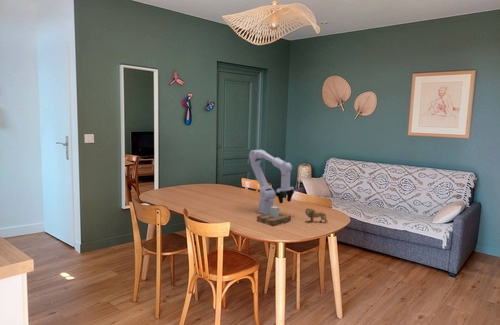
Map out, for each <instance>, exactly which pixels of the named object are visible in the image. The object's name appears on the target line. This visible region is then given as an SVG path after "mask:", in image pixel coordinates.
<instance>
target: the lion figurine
mask: <svg viewBox="0 0 500 325" xmlns="http://www.w3.org/2000/svg"><path fill="white" fill-rule="evenodd" d="M304 213H305V215H306V216H307V217H308V218H310V220H309V222H310V223H311V222H313V223H314V218H315V219H316V218H320V220H319V222H322V221H324V222H323V223H324V224H327V222H329V221H328V219H327V215H326V213H325V212H323V211H316V210H314V209H313V208H312V207H311V208H310V207H307V208H305V212H304Z"/></svg>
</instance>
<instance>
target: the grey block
mask: <svg viewBox="0 0 500 325" xmlns="http://www.w3.org/2000/svg"><path fill="white" fill-rule="evenodd" d="M279 214H280V207H279V206H275V205H273V207H270V217H273V218H276V217H279Z"/></svg>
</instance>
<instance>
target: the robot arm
mask: <svg viewBox="0 0 500 325" xmlns="http://www.w3.org/2000/svg"><path fill="white" fill-rule="evenodd" d="M248 158H249V160H250V166H251V168H252V171H253V173H254V176H255V177H256V180H257V182H258V185H259V187H260V190H259V194H260V200H259V202H258V211H257V213H259V214H262V215H265V214H269V213H270V207H273V206H274V199H275V197H276V196H277V198H278V201H279V202H278V203H279V204H283V202H284V197H285V193H284V192H286V201H287V202H289V203H291V200H292V198H293V196H294V193H295V190H294V189H295V187H294V186H291V171H292V169H293V164H291V162H290V161H289V162H286V161H285V160H283V159H281V158H280V157H274V156H272V155H271V154H269V153H268V152H267V151H266V150H263V149H261V148H260V149H252V150H250V151H249V153H248ZM263 159H264V160H267V161H268V162H271V163H272V165H273V167H276V169H277V168H278V169H279V171H280V175H281V176H280V177H281V178H280V187H279V188H277V189H276V191H275V189H273V187H272V186H271V185H270V184H269V182H268V181H267V178H266V176H265V174H264V172H263V170H262V167H261V165H260V164H261V162H262V161H263Z"/></svg>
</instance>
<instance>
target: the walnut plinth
mask: <svg viewBox="0 0 500 325" xmlns="http://www.w3.org/2000/svg"><path fill="white" fill-rule="evenodd" d="M256 221H257V222H259V221H260V222H259V223H262V222H263V224H265V223H266V225H268V224H269V225H268V226H271V225H272V227H276V226H279V225H278V224H280V225H283V224H285V223H286V222H287V223H289V221H291V222H292V216H289V215H286V214H283V213H279V217H276V218H273V217H270V213H269V214H261V215H257V216H256ZM282 223H283V224H282ZM287 223H286V224H287ZM275 225H276V226H275Z"/></svg>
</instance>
